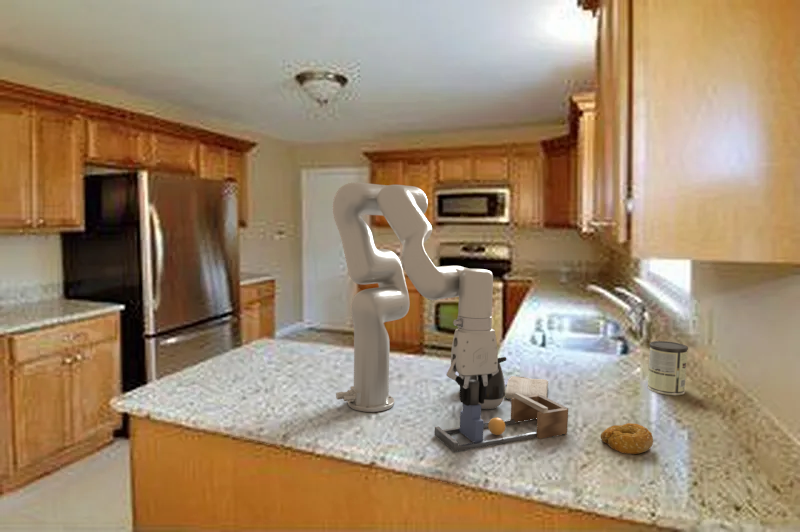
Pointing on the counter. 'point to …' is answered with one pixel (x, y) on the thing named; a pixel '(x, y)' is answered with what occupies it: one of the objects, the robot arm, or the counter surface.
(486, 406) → the pump dispenser
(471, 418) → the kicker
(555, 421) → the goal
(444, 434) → the track
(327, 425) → the counter surface
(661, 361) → the coffee can
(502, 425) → the ball
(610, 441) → the bagel
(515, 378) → the washcloth
